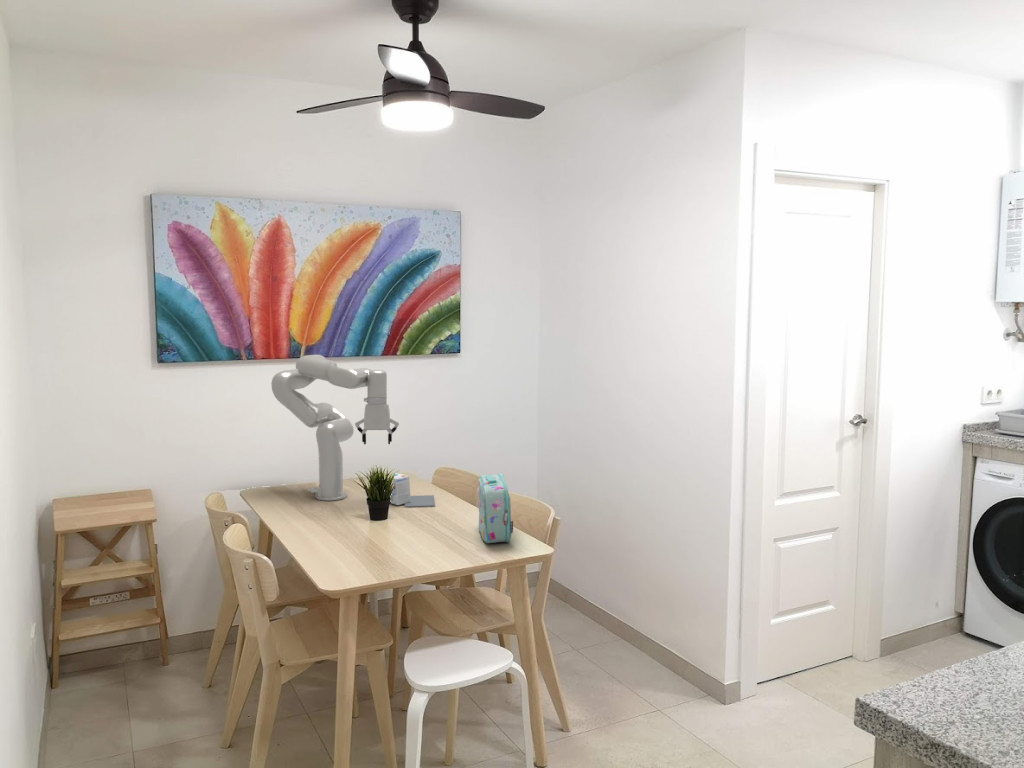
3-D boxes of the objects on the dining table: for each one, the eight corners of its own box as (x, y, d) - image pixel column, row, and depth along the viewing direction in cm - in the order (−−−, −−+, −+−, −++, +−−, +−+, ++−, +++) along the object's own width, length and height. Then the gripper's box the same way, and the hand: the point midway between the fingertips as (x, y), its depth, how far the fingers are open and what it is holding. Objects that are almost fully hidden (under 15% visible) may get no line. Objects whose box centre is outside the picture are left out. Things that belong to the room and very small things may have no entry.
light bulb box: (382, 501, 317) (380, 475, 316) (396, 497, 322) (394, 472, 320) (397, 505, 309) (395, 478, 308) (411, 501, 314) (409, 475, 313)
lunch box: (514, 547, 260) (515, 484, 258) (483, 548, 259) (484, 485, 256) (504, 524, 286) (504, 467, 284) (476, 525, 285) (476, 467, 283)
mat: (404, 507, 308) (404, 506, 308) (404, 497, 324) (404, 495, 324) (435, 506, 310) (435, 505, 310) (433, 496, 326) (433, 495, 325)
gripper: (354, 402, 305) (354, 445, 307) (399, 402, 308) (399, 445, 310) (355, 399, 313) (355, 442, 315) (399, 399, 315) (398, 441, 317)
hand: (377, 443), depth 312 cm, fingers open, 9 cm apart
